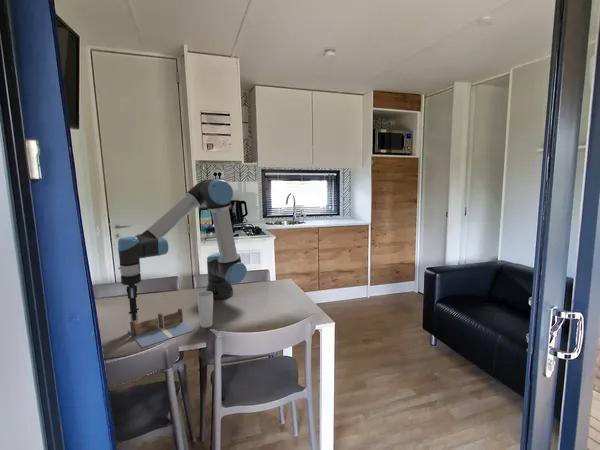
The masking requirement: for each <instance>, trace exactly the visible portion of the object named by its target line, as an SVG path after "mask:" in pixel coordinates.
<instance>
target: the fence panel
mask: <svg viewBox="0 0 600 450" xmlns="http://www.w3.org/2000/svg"><path fill="white" fill-rule="evenodd" d="M163 316H164V314H163V313H158V314H157V317H153V318H150V319H146V320H142V321H138V323H135V321H131V320H130V322H129V327H130V330H131V334H130V336H131V337H132V338H134V337H133V336H136V335H139V334H142V333H145V332H149V331H152V330H155V329H158V322H159V328H163V320H164V319H163Z"/></svg>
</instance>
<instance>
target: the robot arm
mask: <svg viewBox="0 0 600 450" xmlns="http://www.w3.org/2000/svg"><path fill="white" fill-rule="evenodd" d="M184 195H185V196H184V197H183V198H181V200H179V201H178V202H177V203H176V204H175V205H174V206H172V207H171V208H170V209H169V210H168V211H167V212H166V213H164V214H163V215H162V216H161V217H160V218H159V219H157V221H155V222H154V223H153V224H152V225H151V226H149V227H148V228H147V229H146V230H144V231H143V232H142V233H140V234H136V235H135V236H125V237H124V236H123V237H120V238H119V239H118V240H117V244H118V245H117V250H118V251H117V252H118V257H119V259H118V260H119V267H118V270H119V271H120V283H121V285H123V286H126V293H127V299H128V301H129V310H130V311H129V312H128V315H130V322H131V321H135V323H139V316H138V315H139V314H138V311H139V310H140V309H139V307H138V305H137V297H138V285H137V284H140V283H141V281H142V276H141V275H142V274H141V262H140V260H141V259H146V258H151V257H152V258H153V257H158V256H159V257H160V256H163V255H167V253H169V243H168V240H167V239H166V238H165V237H164V236H166V235H167V234H168V233H170V231H172V229H174V228H175V227H176V226H177V225H178V224H179V223H181V221H182V220H184V219H185V218H186V217H187V216H188V215H189V214H190V213H192V212H193V211H194V210H195V209H197V208H201V206H203V205H205V204H206V208H207V210H208V211H210V212H211V217H212V222H213V228H214V232H215V238H216V242H217V248H218V253H216V254H215V253H214V254H210V255H208V256H207V258H206V266H207V267H206V269H207V284H206V285H207V286H206V288H205V291H211V292H213V300H223V299H227V298H230V297H232V296H233V294H234V288H233V286H232V285H237V284H240V283H241V282H243V280H244V279H245V278H246V276H247V272H248V269H247V266H246V265H245V264H244V263H243V262H242V257H241V254H239V253H237V252H238V251H237V248H236V242H235V237H234V232H233V226H232V220H231V214H230V210H229V209H230V208H231V206H232V203H231V201H232V200H233V199H232V198H233V197H234V189H233V187H232V186H231V184H230V183H229V182H227V181H226V180H223V179H215V178H214V179H208V178H207V179H203V180H200V181H199V182H198V183H196V184H195V185H193V187H191V188H189V190H188V191H186V193H185V194H184ZM135 284H136V285H135Z"/></svg>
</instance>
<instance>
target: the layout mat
mask: <svg viewBox="0 0 600 450" xmlns="http://www.w3.org/2000/svg"><path fill="white" fill-rule="evenodd" d="M127 331H128V332H129V333H130V335H131V329H128V330H127ZM193 332H194V329H192V327H191V326H189V325H188V324H187V323H186V322H184V321H183V322H179V323H176V324H173V325H170V326H166V327H164V319H163V328H159V322H158V329H155V330H152V331H149V332H145V333H142V334H139V335H136V336H133V337H132V338H133V339H134V340H135V342H137V344H138V345H139V346H140V347H141V349H143V348H146V347H149V346H152V345H155V344H159V343H161V342H164V341H167V339H168V340H170V339H169V338H171V339H173V338H172V337H174V338H177V337H179V336H182V335H185V334H189V333H193Z"/></svg>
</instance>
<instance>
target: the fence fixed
mask: <svg viewBox="0 0 600 450" xmlns="http://www.w3.org/2000/svg"><path fill="white" fill-rule="evenodd" d="M163 320H164V327H166V326H170V325H173V324H176V323H179V322H184V316H183V308H181V307H180V308H177V311H175V312H171V313H167V314H165V315H164V314H163Z"/></svg>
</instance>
